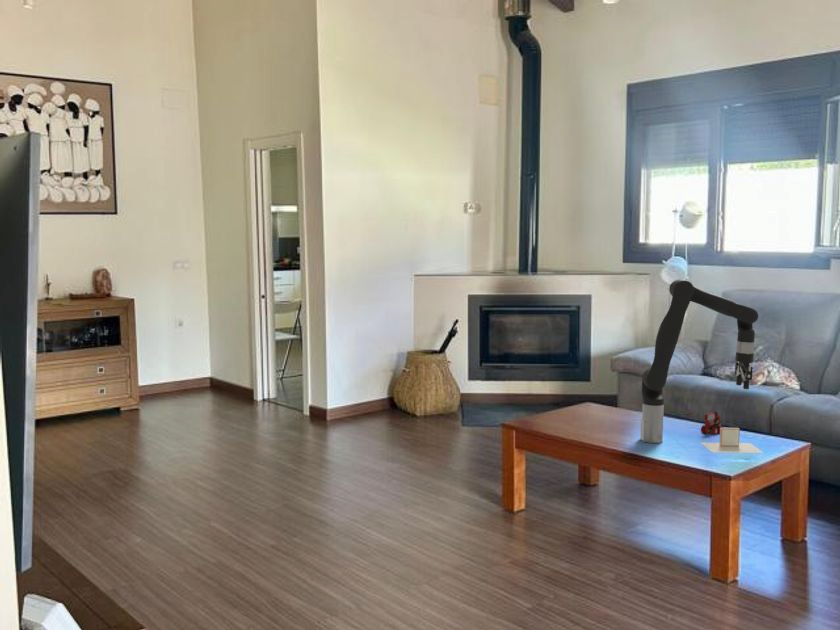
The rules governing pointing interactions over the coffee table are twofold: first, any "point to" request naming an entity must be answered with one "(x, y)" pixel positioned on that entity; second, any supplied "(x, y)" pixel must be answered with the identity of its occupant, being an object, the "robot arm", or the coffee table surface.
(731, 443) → the tile
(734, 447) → the stone board
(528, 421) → the coffee table surface
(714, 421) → the red wheeled toy
